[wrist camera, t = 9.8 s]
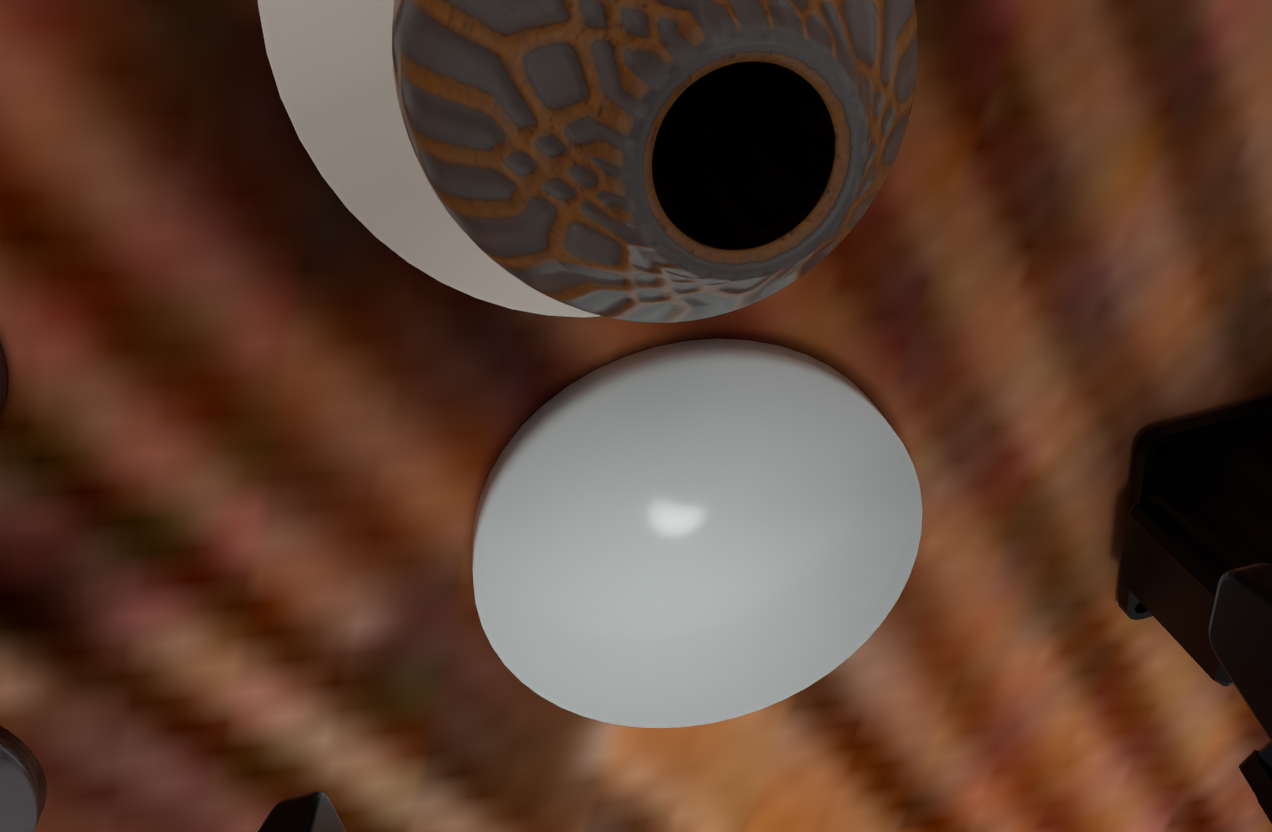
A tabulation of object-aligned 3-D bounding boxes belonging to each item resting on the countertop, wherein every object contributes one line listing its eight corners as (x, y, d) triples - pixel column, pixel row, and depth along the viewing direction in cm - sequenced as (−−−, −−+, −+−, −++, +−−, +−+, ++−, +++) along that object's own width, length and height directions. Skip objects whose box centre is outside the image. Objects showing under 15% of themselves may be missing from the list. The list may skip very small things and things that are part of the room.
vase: (458, -299, 14) (474, -479, 6) (867, -123, 16) (1243, -102, 8) (364, 160, 17) (302, 404, 9) (719, 256, 19) (900, 519, 11)
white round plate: (892, 286, 21) (915, 308, 20) (909, 634, 27) (927, 665, 26) (411, 408, 21) (410, 437, 20) (533, 736, 26) (537, 771, 25)
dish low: (858, -444, 15) (889, -466, 14) (890, 223, 20) (913, 243, 19) (150, -293, 14) (127, -305, 13) (389, 348, 20) (386, 375, 19)
